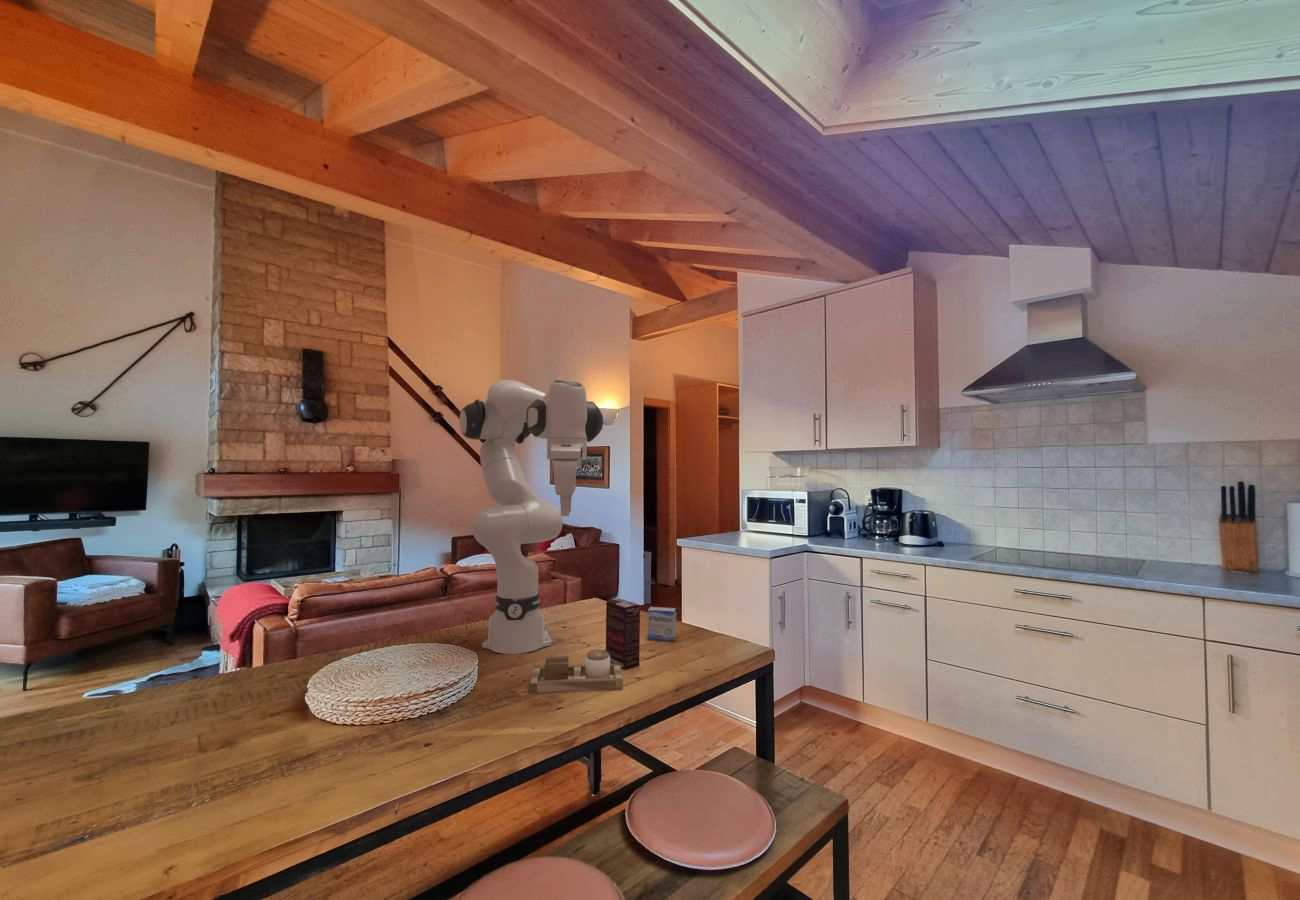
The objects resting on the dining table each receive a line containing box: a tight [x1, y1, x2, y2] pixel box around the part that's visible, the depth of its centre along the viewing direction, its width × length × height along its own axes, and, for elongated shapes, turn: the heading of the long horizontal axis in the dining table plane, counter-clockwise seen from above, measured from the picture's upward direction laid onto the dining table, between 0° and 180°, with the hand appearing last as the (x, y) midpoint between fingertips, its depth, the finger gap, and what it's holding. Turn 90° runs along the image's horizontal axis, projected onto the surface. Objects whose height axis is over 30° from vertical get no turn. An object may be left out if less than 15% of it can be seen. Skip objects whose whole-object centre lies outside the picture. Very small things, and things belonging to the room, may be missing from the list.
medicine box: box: [647, 606, 677, 642], centre depth 154 cm, size 8×4×9 cm, turn 81°
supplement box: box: [605, 598, 641, 671], centre depth 132 cm, size 9×5×16 cm, turn 39°
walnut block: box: [544, 655, 569, 680], centre depth 119 cm, size 5×5×5 cm
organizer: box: [529, 663, 624, 694], centre depth 119 cm, size 10×20×3 cm, turn 97°
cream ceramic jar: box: [584, 649, 611, 679], centre depth 120 cm, size 6×6×6 cm
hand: (566, 514), depth 117 cm, fingers open, 8 cm apart
